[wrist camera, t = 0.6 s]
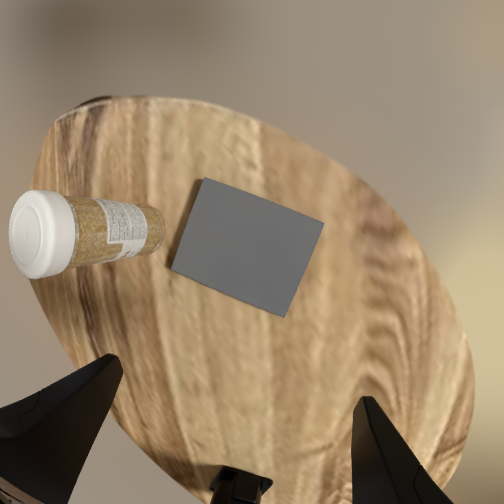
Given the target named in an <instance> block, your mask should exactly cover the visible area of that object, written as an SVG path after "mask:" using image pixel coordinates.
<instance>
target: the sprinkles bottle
mask: <svg viewBox="0 0 504 504" xmlns="http://www.w3.org/2000/svg"><path fill="white" fill-rule="evenodd" d="M164 234H165V225H164V220H163V218H162V215H161V214H160V213H159V211H158V210H157V209H155V208H154V207H152V206H150V205H134V204H131V203H125V202H119V201H112V200H104V199H97V198H88V197H87V198H81V197H71V196H62V195H61V194H59V193H57V192H54V191H46V190H30V191H27V192H26V193H24V194H23V195H22V196H21V197H20V198H19V199H18V201H17V202H16V204H15V206H14V208H13V211H12V214H11V217H10V222H9V245H10V251H11V255H12V258H13V260H14V262H15V265H16V266H17V268H18V269H19V271H20V272H21V273H22V274H23V275H24V276H26V277H28V278H31V279H39V278H44V277H48V276H53V275H56V274H59V273H60V272H62V271H63V270H64V269H70V268H74V267H79V266H84V265H89V264H99V263H104V262H109V261H114V260H120V259H125V258H130V257H133V256H136V255H148V254H151V253H153V252H154V251H156V250H157V249H158V248H159V246H160V245H161V243H162V241H163V238H164Z"/></svg>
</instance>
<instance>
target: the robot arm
mask: <svg viewBox="0 0 504 504" xmlns="http://www.w3.org/2000/svg"><path fill="white" fill-rule="evenodd" d="M122 376H123V368H122V365H121V362H120V360H119V357H118V356H116V355H114V354H111V353H108V354H106V355H104V356H102V357H100V358H98V359H97V360H95V361H93V362H91V363H89V364H88V365H86V366H84V367H82V368H80V369H79V370H77V371H75V372H73V373H71V374H70V375H68V376H66V377H64V378H62V379H60V380H59V381H57V382H55V383H53V384H51V385H50V386H47V387H46V388H44V389H42V390H41V391H38V392H36V393H35V394H32V395H30V396H28V397H26V398H24V399H22V400H20V401H17V402H15V403H12V404H10V405H7V406H5V407H2V408H0V504H43V503H44V504H68V501H69V499H70V496H71V494H72V491H73V488H74V486H75V484H76V482H77V479H78V476H79V474H80V472H81V469H82V467H83V465H84V463H85V460H86V458H87V456H88V454H89V451H90V449H91V447H92V445H93V443H94V440H95V438H96V436H97V434H98V432H99V430H100V428H101V426H102V424H103V422H104V420H105V418H106V415H107V413H108V411H109V409H110V407H111V405H112V403H113V400H114V397H115V394H116V392H117V389H118V386H119V384H120V381H121V378H122ZM351 460H352V504H454V503H453V502H452V501H451V500H450V499H449V498H448V497H447V496H446V495H445V494H444V493H443V491H442V490H441V489H440V488H439V487H438V486H437V485H436V483H435V482H434V481H433V480H432V479H431V477H430V476H429V475H428V473H427V472H426V471H425V469H424V468H423V466H422V465H420V462H419V461H418V459H417V458H416V456H415V455H414V453H413V452H412V451H411V449H410V448H409V446H408V445H407V444H406V442H405V441H404V439H403V438H402V436H401V435H400V434H399V432H398V431H397V429H396V428H395V427H394V425H393V424H392V422H391V421H390V420H389V418H388V417H387V415H386V414H385V413H384V411H383V410H382V408H381V407H380V406H379V404H378V403H377V401H376V400H375V399H374V397H372V396H362V397H361V398H360V400H359V401H358V403H357V405H356V407H355V408H354V411H353V427H352V443H351ZM272 484H273V481H272V480H270V479H266V478H262V477H259V476H255V475H252V474H248V473H245V472H242V471H238V470H235V469H232V468H229V467H222V469H221V470H220V472H219V473H218V475H217V476H216V478H215V479H214V480H213V482H212V483H211V485H210V487H209V489H210V490H211V491H214V493H213V496H212V499H211V502H210V504H260V501H261V496H262V495H263V494H264V493H265V492H266V491H267V490H268V489H269V488H270V487H271V486H272Z"/></svg>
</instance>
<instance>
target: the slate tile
mask: <svg viewBox="0 0 504 504" xmlns="http://www.w3.org/2000/svg"><path fill="white" fill-rule="evenodd" d="M323 226H324V223H323V222H321V221H318V220H316V219H313V218H311V217H309V216H306V215H304V214H301V213H299V212H296V211H294V210H291V209H289V208H286V207H284V206H281V205H279V204H276V203H274V202H271V201H269V200H266V199H263V198H261V197H258V196H256V195H253V194H250V193H248V192H245V191H242V190H240V189H237V188H234V187H231V186H229V185H226V184H223V183H220V182H217V181H215V180H212V179H209V178H206V177H204V180H203V182H202V185H201V187H200V190H199V192H198V195H197V197H196V200H195V203H194V205H193V208H192V211H191V213H190V216H189V219H188V222H187V224H186V227H185V230H184V233H183V236H182V238H181V241H180V244H179V247H178V250H177V253H176V256H175V259H174V262H173V265H172V268H171V270H174V271H176V272H178V273H180V274H182V275H184V276H187V277H189V278H191V279H193V280H195V281H198V282H200V283H202V284H204V285H207V286H209V287H211V288H213V289H216V290H218V291H220V292H223V293H225V294H227V295H230V296H232V297H234V298H237V299H239V300H241V301H244V302H246V303H249V304H251V305H253V306H256V307H258V308H261V309H263V310H266V311H268V312H271V313H273V314H275V315H278V316H281V317H283V318H284V317H285V315H286V313H287V311H288V309H289V306H290V304H291V302H292V300H293V297H294V295H295V293H296V291H297V288H298V286H299V284H300V281H301V279H302V277H303V274H304V272H305V270H306V267H307V265H308V263H309V260H310V258H311V255H312V253H313V251H314V248H315V246H316V243H317V241H318V238H319V236H320V233H321V231H322V228H323Z"/></svg>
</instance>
